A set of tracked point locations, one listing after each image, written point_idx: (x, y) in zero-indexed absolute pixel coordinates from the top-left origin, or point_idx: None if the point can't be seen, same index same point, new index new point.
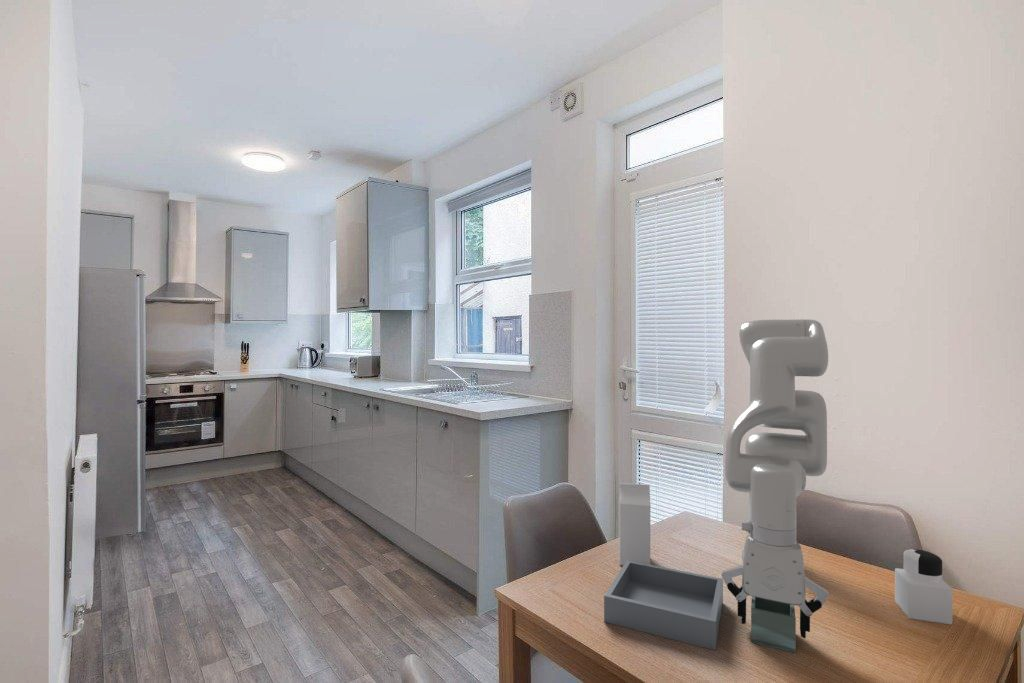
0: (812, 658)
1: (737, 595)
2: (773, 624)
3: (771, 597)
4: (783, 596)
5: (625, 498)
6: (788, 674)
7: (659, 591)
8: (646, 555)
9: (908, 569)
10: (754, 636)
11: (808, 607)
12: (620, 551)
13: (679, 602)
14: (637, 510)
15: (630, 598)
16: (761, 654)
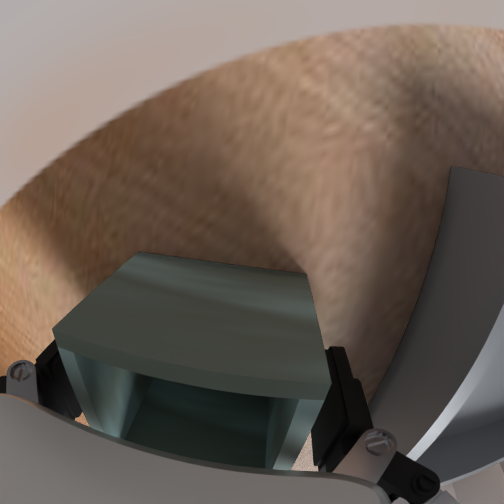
0: (91, 236)
1: (391, 455)
2: (190, 317)
3: (155, 473)
4: (57, 461)
5: None
6: (181, 81)
7: (492, 410)
8: (460, 486)
9: None
10: (294, 286)
11: (8, 391)
12: (500, 468)
13: (476, 393)
14: None
15: None
16: (274, 190)
